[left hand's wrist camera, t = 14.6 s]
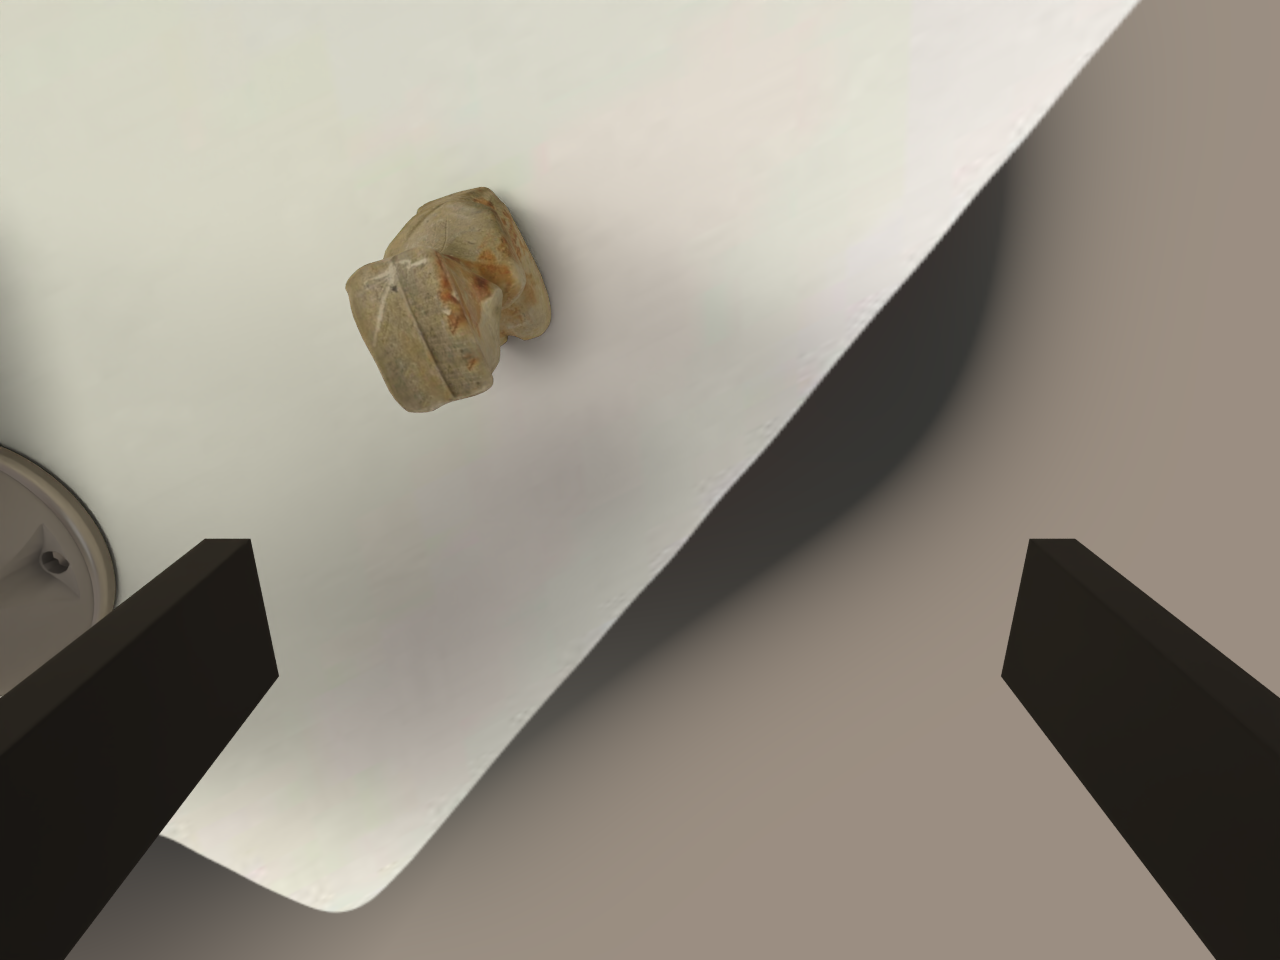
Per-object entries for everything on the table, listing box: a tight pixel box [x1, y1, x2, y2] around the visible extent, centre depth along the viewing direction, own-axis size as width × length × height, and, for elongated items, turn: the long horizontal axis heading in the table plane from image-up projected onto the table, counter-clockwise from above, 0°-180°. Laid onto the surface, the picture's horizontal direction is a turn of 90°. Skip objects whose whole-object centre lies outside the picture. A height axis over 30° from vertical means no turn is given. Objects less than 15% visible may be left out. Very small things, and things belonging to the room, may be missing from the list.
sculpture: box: [345, 187, 551, 413], centre depth 30 cm, size 6×7×15 cm
